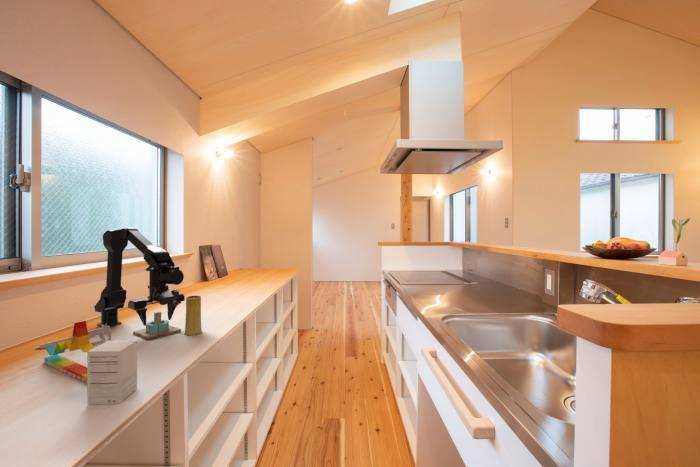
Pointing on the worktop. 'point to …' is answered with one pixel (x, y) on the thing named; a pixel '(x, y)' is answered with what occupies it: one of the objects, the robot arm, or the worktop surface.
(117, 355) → the supplement box
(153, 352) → the worktop surface
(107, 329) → the caliper
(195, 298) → the vase
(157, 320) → the post stand
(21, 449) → the worktop surface
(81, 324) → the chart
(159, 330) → the ring
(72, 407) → the worktop surface
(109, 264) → the robot arm
